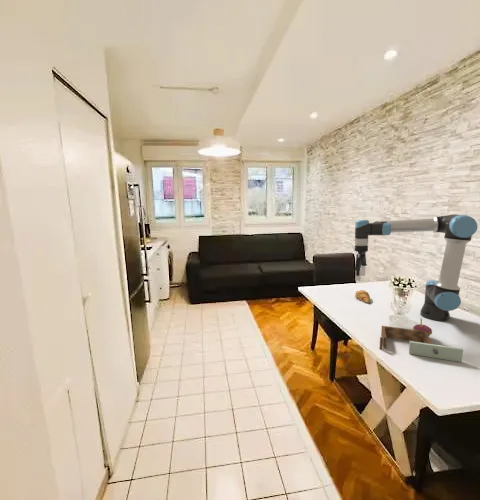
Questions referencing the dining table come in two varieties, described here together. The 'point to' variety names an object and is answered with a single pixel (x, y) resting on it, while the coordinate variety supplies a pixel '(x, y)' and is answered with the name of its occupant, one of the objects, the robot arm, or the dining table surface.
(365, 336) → the dining table surface
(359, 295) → the croissant
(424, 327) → the cupcake
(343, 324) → the dining table surface
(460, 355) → the grey flat panel
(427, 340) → the holder
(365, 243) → the robot arm
